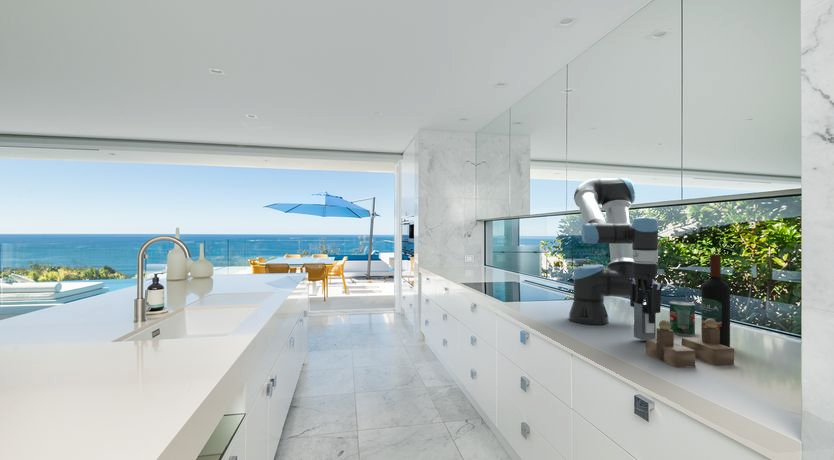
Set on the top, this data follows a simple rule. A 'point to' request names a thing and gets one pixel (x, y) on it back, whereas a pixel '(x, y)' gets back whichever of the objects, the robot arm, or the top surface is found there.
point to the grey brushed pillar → (642, 322)
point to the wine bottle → (716, 301)
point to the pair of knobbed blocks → (690, 347)
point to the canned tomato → (682, 317)
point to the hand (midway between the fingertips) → (644, 330)
